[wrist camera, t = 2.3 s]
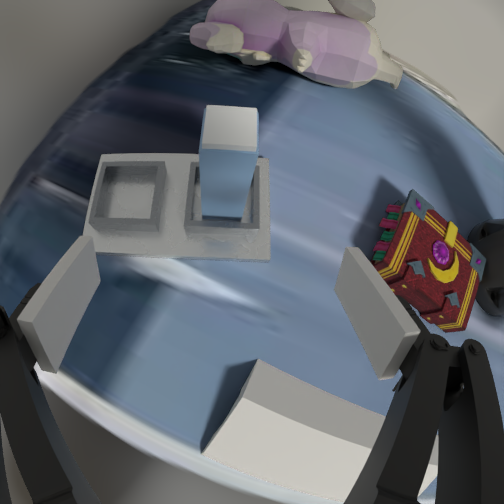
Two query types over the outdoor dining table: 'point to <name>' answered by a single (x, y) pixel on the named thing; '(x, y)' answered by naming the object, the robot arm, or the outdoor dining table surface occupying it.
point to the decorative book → (428, 263)
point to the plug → (227, 160)
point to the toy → (301, 40)
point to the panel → (172, 211)
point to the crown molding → (299, 436)
